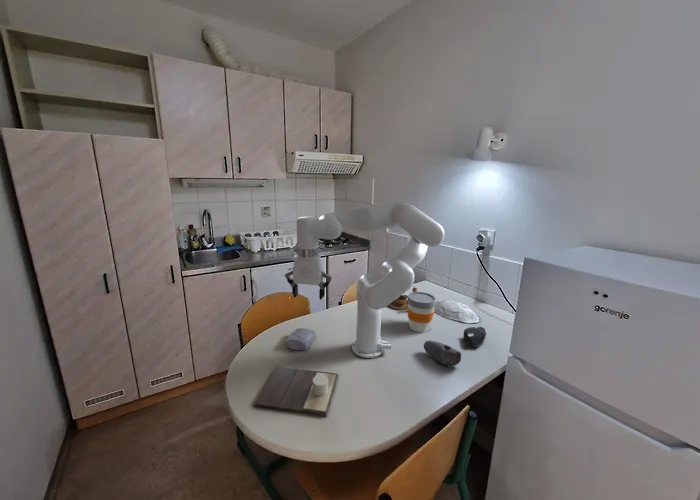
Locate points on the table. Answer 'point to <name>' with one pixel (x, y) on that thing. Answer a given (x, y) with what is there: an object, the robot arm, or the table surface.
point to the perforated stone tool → (442, 353)
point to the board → (295, 391)
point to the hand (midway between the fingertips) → (308, 297)
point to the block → (300, 339)
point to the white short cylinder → (320, 385)
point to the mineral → (474, 336)
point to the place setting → (401, 302)
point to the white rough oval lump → (455, 311)
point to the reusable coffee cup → (420, 310)
